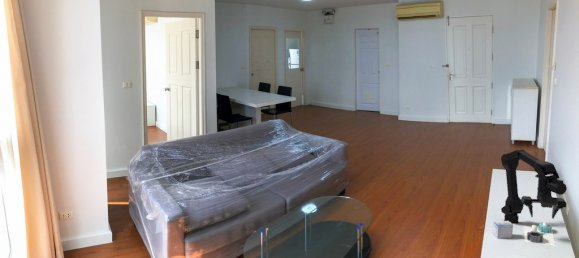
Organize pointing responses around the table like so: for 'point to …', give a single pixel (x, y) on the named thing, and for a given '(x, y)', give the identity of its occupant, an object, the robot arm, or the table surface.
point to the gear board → (543, 229)
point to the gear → (534, 237)
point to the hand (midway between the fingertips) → (542, 217)
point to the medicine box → (503, 229)
